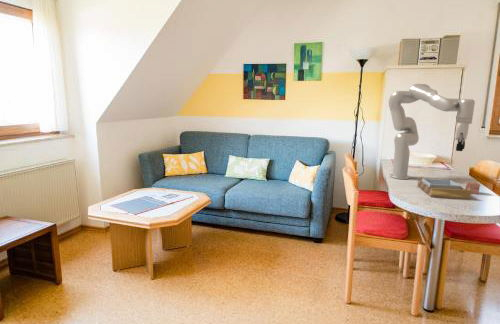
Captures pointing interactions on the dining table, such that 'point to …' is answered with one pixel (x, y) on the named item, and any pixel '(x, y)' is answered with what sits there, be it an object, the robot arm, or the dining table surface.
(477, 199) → the dining table surface
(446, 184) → the grey tray
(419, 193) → the dining table surface
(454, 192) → the bay
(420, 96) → the robot arm
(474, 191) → the block
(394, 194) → the dining table surface
